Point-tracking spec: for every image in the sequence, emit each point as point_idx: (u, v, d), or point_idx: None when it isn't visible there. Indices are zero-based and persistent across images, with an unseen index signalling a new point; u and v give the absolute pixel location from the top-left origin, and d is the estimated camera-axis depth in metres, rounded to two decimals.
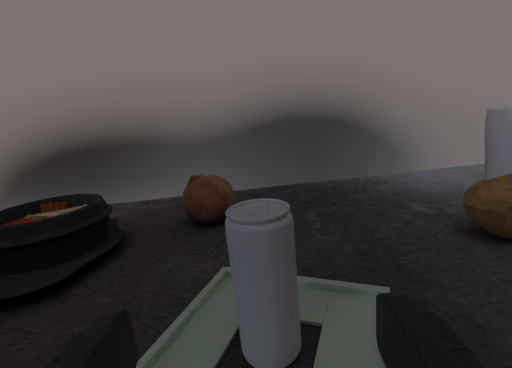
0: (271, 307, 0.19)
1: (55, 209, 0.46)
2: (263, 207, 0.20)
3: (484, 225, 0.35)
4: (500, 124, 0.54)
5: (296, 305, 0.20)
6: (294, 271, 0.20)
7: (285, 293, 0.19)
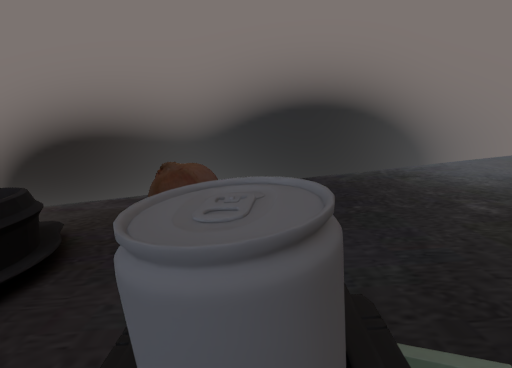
0: None
1: None
2: (246, 198, 0.06)
3: None
4: None
5: None
6: None
7: None
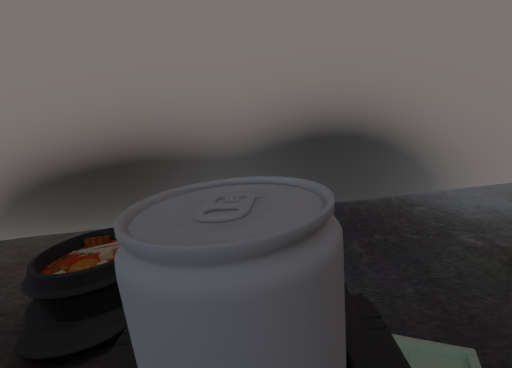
0: None
1: (99, 243, 0.45)
2: (246, 198, 0.06)
3: None
4: None
5: None
6: None
7: None
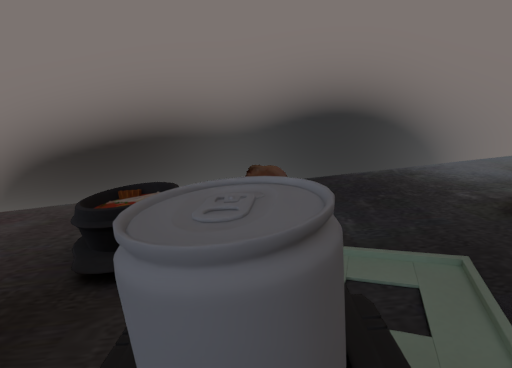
0: None
1: (131, 196, 0.50)
2: (245, 198, 0.06)
3: None
4: None
5: None
6: None
7: None
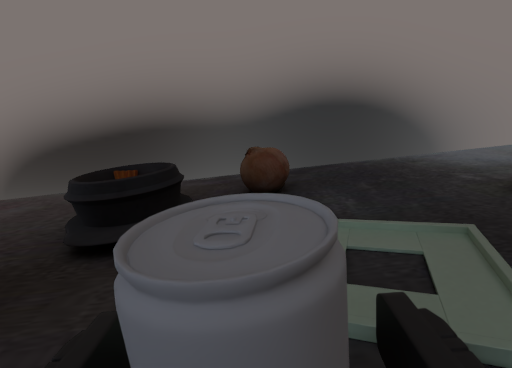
0: None
1: (127, 176, 0.49)
2: (247, 220, 0.06)
3: None
4: None
5: None
6: None
7: None
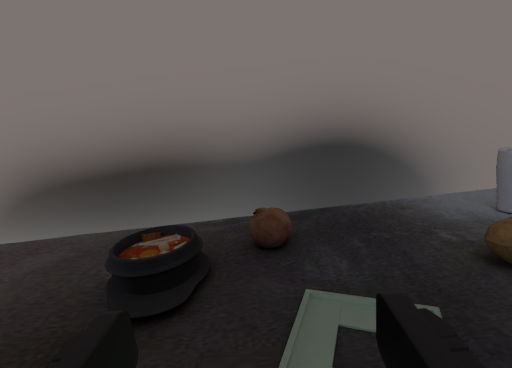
0: None
1: (153, 238, 0.57)
2: None
3: (502, 256, 0.46)
4: (510, 164, 0.65)
5: None
6: None
7: None
